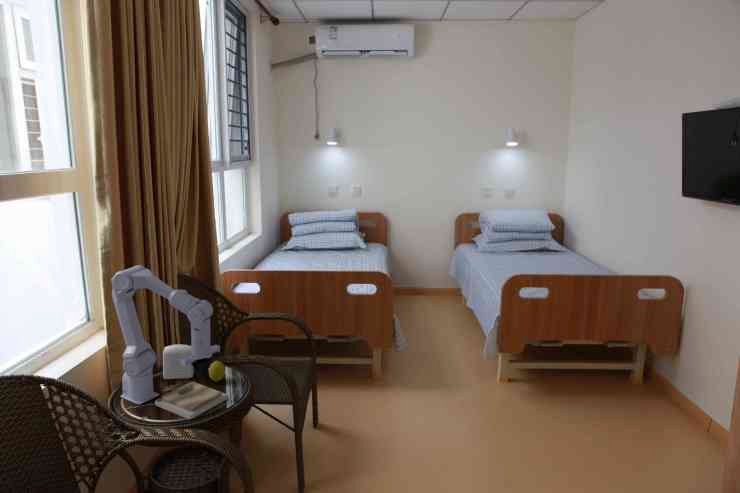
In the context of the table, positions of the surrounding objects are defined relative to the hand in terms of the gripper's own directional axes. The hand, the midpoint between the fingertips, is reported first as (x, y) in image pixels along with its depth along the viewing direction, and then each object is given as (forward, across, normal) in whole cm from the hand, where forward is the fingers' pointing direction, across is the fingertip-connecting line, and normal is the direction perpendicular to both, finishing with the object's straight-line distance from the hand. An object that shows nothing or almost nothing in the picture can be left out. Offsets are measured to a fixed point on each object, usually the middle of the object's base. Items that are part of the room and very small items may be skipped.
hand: (201, 379), depth 162 cm
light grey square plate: (+9, 0, +4) cm, 10 cm away
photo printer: (+10, +10, +22) cm, 26 cm away
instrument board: (+7, 0, +5) cm, 9 cm away
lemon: (+10, +15, +8) cm, 20 cm away
